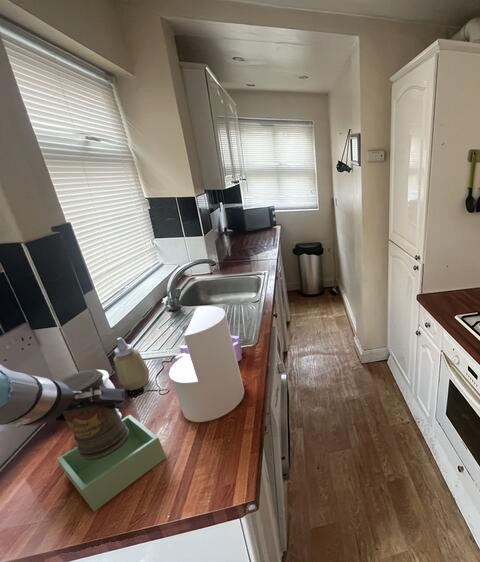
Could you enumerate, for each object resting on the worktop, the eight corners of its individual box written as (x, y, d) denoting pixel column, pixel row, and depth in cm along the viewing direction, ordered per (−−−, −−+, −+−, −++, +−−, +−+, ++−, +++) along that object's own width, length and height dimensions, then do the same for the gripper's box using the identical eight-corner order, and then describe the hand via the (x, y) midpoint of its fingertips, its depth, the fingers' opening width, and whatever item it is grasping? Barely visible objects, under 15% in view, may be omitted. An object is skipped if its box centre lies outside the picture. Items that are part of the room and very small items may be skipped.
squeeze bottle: (151, 387, 101) (133, 340, 94) (120, 396, 97) (99, 348, 90) (153, 373, 107) (136, 329, 101) (125, 381, 104) (105, 336, 97)
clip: (243, 346, 121) (239, 331, 118) (241, 364, 110) (237, 348, 108) (186, 358, 115) (181, 342, 112) (178, 378, 104) (173, 362, 102)
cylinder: (245, 375, 105) (228, 302, 94) (242, 412, 89) (221, 329, 79) (189, 388, 100) (164, 311, 89) (175, 429, 84) (143, 343, 74)
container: (91, 434, 74) (59, 374, 67) (135, 423, 77) (109, 364, 70) (72, 467, 66) (34, 402, 59) (122, 453, 69) (91, 389, 62)
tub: (68, 478, 72) (56, 458, 69) (138, 433, 84) (129, 414, 81) (94, 511, 65) (81, 490, 62) (166, 457, 76) (158, 437, 74)
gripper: (-62, 447, 46) (40, 442, 66) (106, 403, 54) (152, 410, 74) (-54, 397, 49) (42, 406, 69) (106, 362, 57) (150, 379, 76)
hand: (99, 408), depth 71 cm, fingers closed on container, 8 cm apart
